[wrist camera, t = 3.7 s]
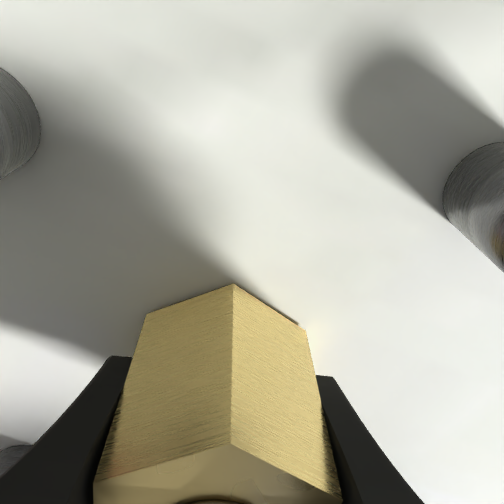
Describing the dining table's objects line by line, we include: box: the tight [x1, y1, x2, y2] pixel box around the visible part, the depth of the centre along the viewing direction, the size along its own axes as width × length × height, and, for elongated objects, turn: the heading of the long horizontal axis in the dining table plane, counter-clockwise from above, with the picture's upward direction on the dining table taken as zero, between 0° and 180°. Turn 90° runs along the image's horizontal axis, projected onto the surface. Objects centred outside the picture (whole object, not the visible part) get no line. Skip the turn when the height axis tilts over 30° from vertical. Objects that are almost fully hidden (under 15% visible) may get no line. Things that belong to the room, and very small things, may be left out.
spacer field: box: [0, 68, 504, 476], centre depth 11 cm, size 14×14×4 cm
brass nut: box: [93, 284, 343, 504], centre depth 11 cm, size 5×4×5 cm
